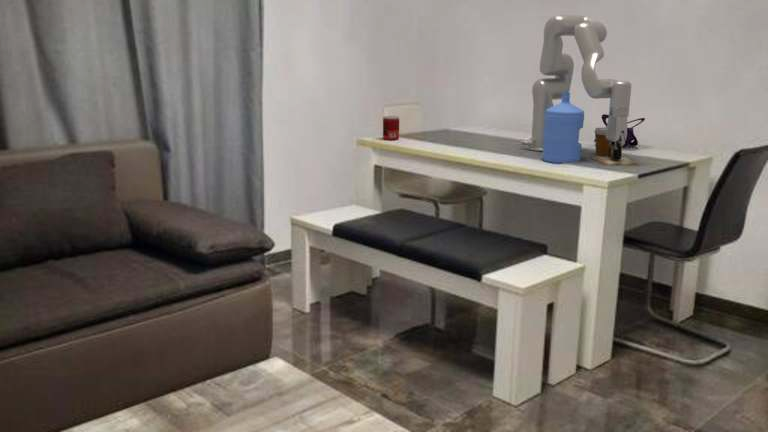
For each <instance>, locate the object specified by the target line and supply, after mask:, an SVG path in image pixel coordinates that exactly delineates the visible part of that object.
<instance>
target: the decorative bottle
mask: <svg viewBox="0 0 768 432" xmlns="http://www.w3.org/2000/svg"><path fill="white" fill-rule="evenodd" d="M608 118H609V114H607V113H603V114H602V115H601V120H602V122H603V124H604V125H605V127H604V128H607V123H608V121H607V120H608ZM645 120H646V118H645V117H642V118H641V117H640V118H637V119H633V120H631V121H630V120H629V121H627V125H628V124H630V123H633V122H638V121H639V122H638V123H636V124H635V125H633V126H631V127H628V126H627V137H626V141H625V144H624V145H623V148H626V147H627V146H628V145H630V146H633V147H636V146H638V144H639V142H638V139H637V137H636V135H635V133H634V128H635V127H637V126H639V125H640V124H641V123H643V122H644V121H645ZM618 141H619V140H618ZM593 142H594V143H596V141H595V139H594V140H593ZM617 145H618V143H617Z"/></svg>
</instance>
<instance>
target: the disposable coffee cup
mask: <svg viewBox="0 0 768 432" xmlns="http://www.w3.org/2000/svg"><path fill="white" fill-rule="evenodd" d="M606 129H607V128H605V127H596V128H595V129H594V131H593V132H594V134H595V135H594V136H595V137H594V140H595V141H596V142H595V155H597V156H600V157H609V140H608V139H606Z"/></svg>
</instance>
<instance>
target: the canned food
mask: <svg viewBox="0 0 768 432" xmlns="http://www.w3.org/2000/svg"><path fill="white" fill-rule="evenodd" d="M382 139H383V141H393V142H394V141H398V140H399V139H400V117H399V115H398V116H397V115H384V116H383V117H382Z"/></svg>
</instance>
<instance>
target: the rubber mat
mask: <svg viewBox="0 0 768 432" xmlns="http://www.w3.org/2000/svg"><path fill="white" fill-rule="evenodd" d="M586 160H588V161H589V162H591V163H594V164H596V165H598V166H600V167H610V166H611V167H619V166H620V167H623V166H625V167H628V166H629V167H636V166H637V167H638V166H640V167H641V166H645V165H644V164H642V163H641V162H640V163H639V162H638V163H639V165H603V164H601V163H598V162H596V161H594V160H592V159H591V158H586Z"/></svg>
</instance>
